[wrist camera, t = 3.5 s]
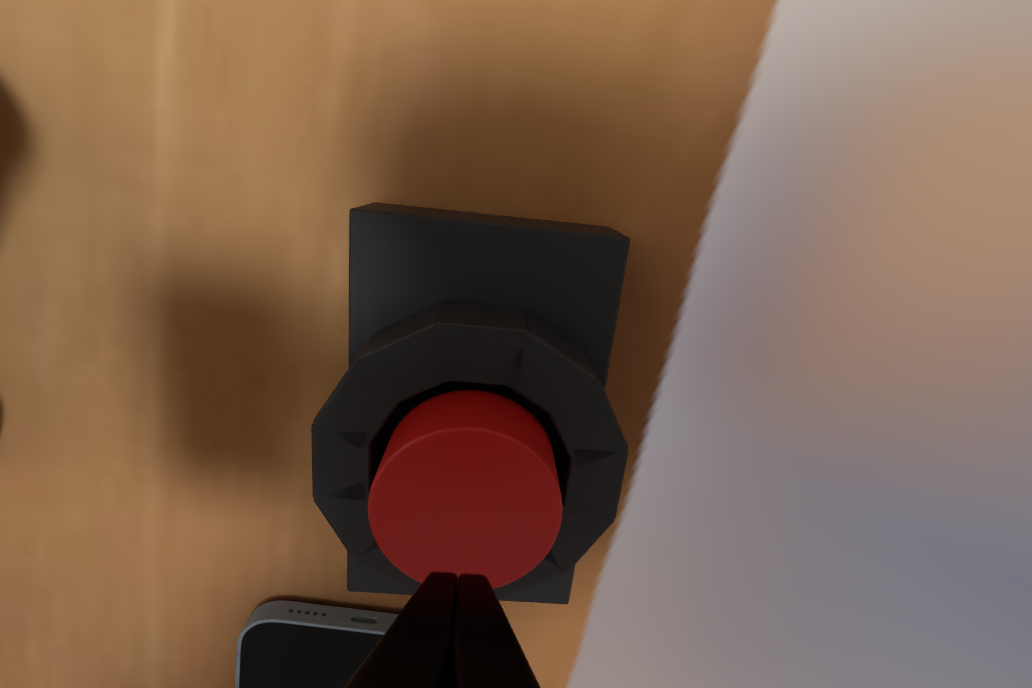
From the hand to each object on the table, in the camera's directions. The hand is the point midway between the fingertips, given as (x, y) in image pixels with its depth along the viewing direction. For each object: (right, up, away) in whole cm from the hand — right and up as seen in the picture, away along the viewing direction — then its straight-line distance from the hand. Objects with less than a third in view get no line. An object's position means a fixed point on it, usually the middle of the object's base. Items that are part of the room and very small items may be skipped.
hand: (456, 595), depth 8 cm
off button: (0, +1, +3) cm, 4 cm away
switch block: (0, +2, +7) cm, 7 cm away
